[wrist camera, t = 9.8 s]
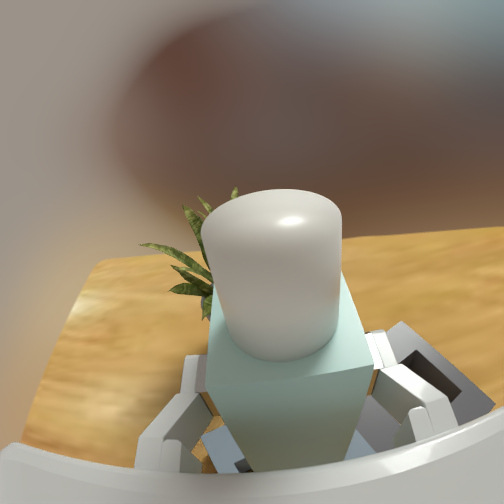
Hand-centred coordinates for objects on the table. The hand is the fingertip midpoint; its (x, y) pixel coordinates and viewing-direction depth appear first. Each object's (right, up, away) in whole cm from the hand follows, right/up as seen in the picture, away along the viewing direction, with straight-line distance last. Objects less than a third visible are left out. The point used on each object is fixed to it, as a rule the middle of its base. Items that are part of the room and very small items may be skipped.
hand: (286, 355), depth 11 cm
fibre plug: (+1, -7, +4) cm, 8 cm away
